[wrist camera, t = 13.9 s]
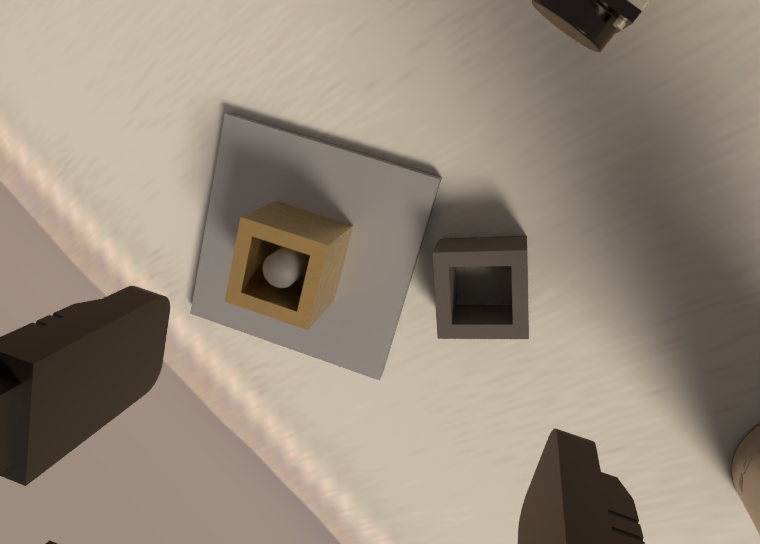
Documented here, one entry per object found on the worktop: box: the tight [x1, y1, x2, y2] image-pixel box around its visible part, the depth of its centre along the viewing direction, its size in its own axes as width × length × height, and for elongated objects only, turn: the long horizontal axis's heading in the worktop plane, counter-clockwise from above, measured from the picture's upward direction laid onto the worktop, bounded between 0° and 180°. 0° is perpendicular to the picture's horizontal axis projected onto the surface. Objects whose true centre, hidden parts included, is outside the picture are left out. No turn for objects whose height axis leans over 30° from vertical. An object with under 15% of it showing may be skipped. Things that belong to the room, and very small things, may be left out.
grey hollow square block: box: [433, 236, 529, 339], centre depth 42 cm, size 6×6×4 cm
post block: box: [190, 113, 442, 380], centre depth 43 cm, size 16×16×6 cm
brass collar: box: [225, 201, 353, 330], centre depth 42 cm, size 6×6×6 cm
